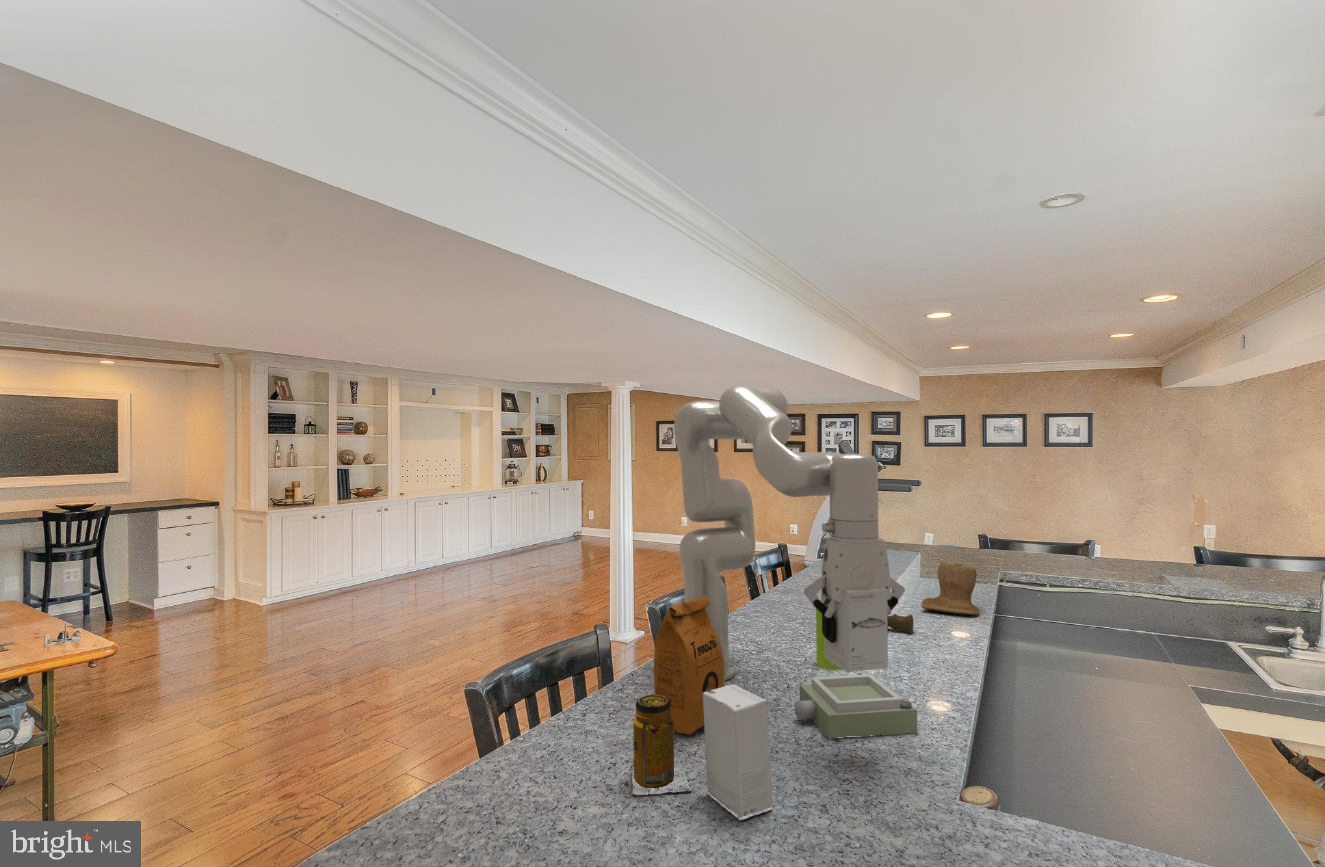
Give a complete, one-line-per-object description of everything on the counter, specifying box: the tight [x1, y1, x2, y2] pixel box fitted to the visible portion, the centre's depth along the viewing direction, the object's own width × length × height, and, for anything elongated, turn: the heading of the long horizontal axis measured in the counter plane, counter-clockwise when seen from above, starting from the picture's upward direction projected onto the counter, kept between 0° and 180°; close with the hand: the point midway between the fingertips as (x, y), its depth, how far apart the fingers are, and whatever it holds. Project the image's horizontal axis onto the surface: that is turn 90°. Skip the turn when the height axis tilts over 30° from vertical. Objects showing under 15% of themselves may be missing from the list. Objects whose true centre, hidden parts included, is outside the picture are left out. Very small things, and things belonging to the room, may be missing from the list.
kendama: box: [888, 613, 914, 635], centre depth 169 cm, size 6×10×20 cm
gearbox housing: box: [794, 674, 918, 739], centre depth 113 cm, size 19×14×6 cm
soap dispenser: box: [815, 591, 842, 671], centre depth 141 cm, size 6×7×20 cm
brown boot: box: [920, 560, 980, 615], centre depth 186 cm, size 15×12×15 cm
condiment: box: [632, 694, 675, 788], centre depth 92 cm, size 7×8×12 cm
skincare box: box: [703, 683, 774, 817], centre depth 87 cm, size 8×6×15 cm
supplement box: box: [824, 589, 889, 674], centre depth 100 cm, size 7×7×13 cm
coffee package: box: [653, 596, 725, 735], centre depth 112 cm, size 10×12×22 cm
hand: (855, 638), depth 100 cm, fingers closed on supplement box, 7 cm apart
